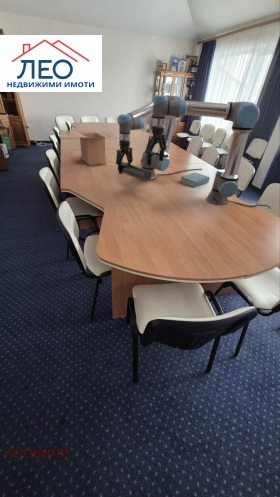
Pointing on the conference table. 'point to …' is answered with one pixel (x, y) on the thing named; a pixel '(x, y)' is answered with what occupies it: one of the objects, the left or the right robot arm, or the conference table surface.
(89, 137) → the box
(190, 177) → the book
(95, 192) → the conference table surface
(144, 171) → the rod
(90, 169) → the conference table surface
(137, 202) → the conference table surface
